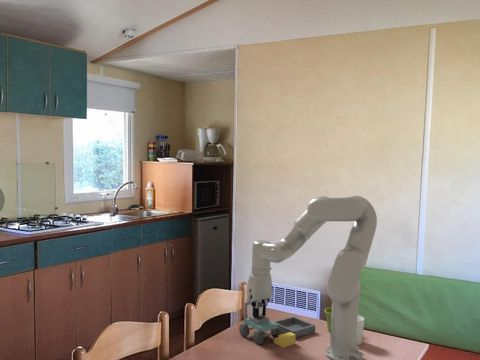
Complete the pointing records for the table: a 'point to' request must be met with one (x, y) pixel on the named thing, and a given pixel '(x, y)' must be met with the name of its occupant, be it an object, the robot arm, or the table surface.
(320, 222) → the robot arm
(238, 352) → the table surface
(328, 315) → the plant pot
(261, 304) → the pin
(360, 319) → the white cup
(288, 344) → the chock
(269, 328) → the trolley
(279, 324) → the tray
